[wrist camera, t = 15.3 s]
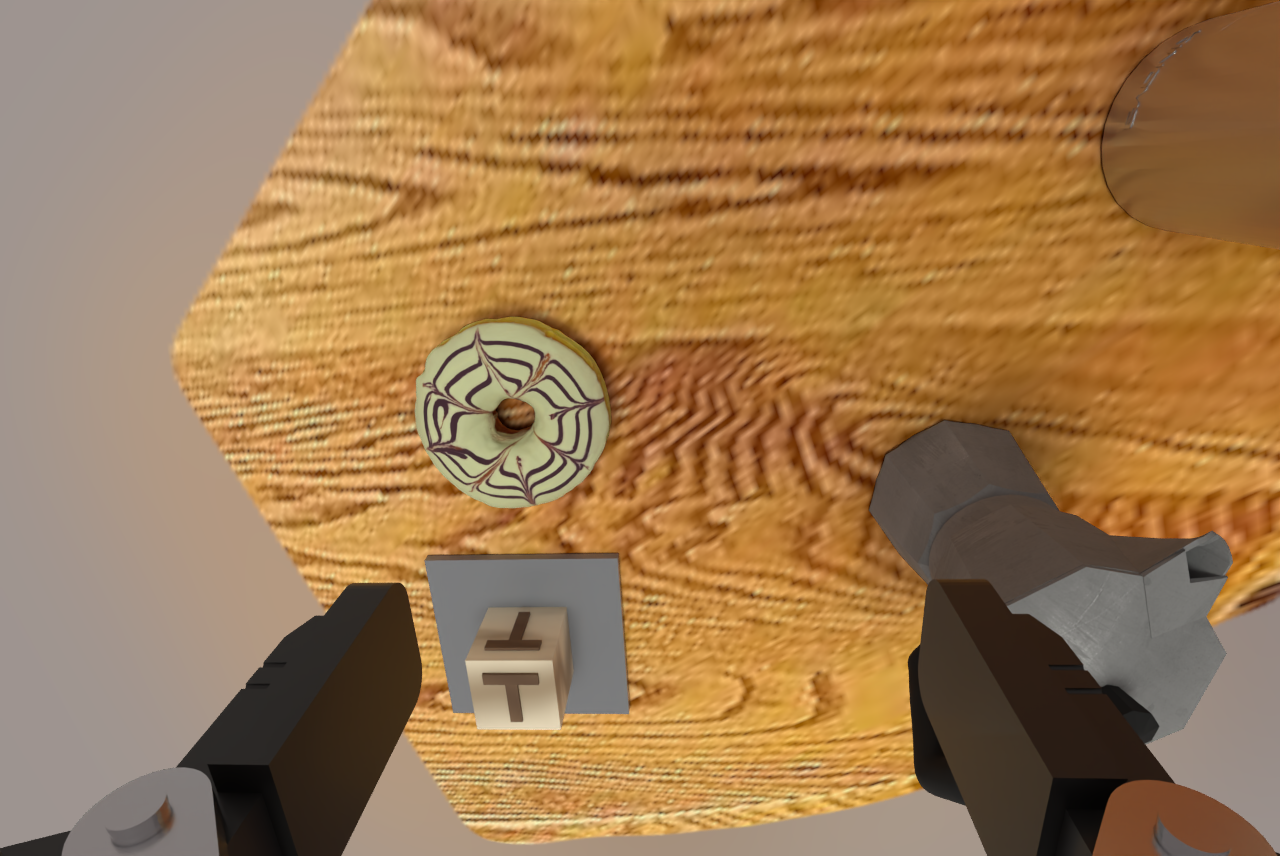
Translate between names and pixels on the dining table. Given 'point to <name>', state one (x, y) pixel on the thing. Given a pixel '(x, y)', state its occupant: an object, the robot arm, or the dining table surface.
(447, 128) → the dining table surface
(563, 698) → the letter block
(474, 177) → the dining table surface
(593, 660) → the slate coaster
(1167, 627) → the coffeepot
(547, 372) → the decorated donut
